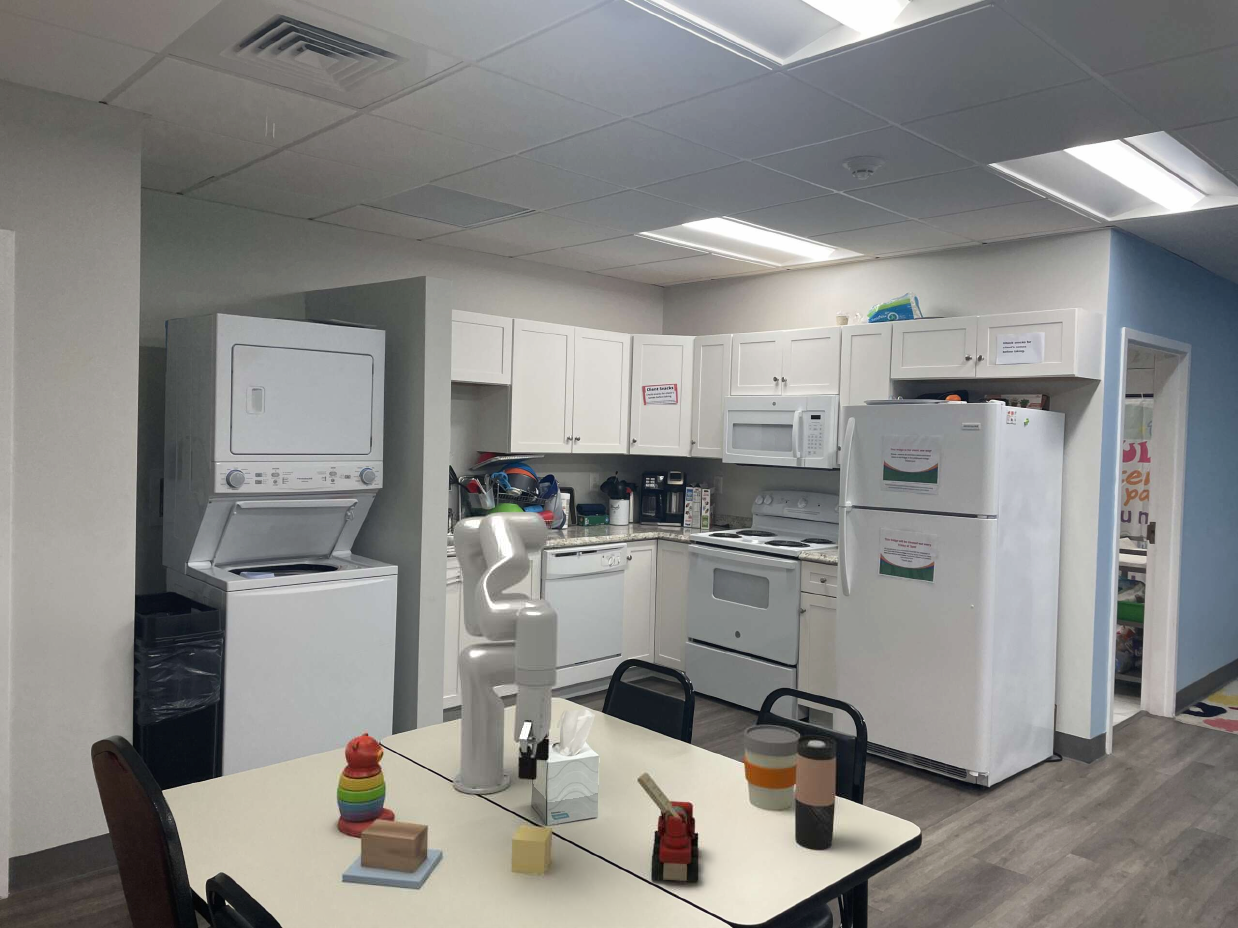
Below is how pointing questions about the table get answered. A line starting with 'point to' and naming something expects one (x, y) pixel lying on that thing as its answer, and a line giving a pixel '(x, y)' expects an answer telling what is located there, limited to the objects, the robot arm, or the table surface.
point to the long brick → (394, 846)
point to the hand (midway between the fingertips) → (533, 768)
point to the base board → (392, 873)
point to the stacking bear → (362, 787)
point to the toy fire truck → (672, 837)
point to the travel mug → (815, 791)
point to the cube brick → (531, 849)
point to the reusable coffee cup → (770, 765)
